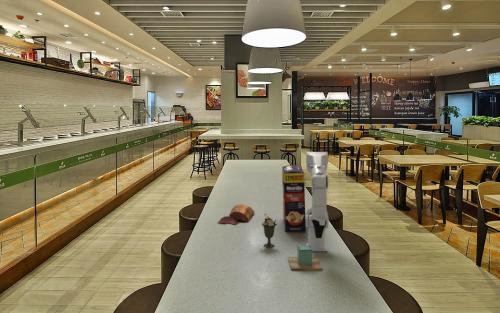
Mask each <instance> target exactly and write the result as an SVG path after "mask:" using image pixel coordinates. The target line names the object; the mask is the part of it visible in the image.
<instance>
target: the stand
mask: <svg viewBox="0 0 500 313" xmlns="http://www.w3.org/2000/svg"><path fill="white" fill-rule="evenodd" d="M287 260H288V263H289V267H290V270H291V271H293V272H294V271H324V270H323V269H324V268H323V266H322V264H321V262H320V260H319V258H318V256H312V265H299V264H298V261H297V256H287Z"/></svg>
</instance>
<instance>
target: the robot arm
mask: <svg viewBox="0 0 500 313" xmlns="http://www.w3.org/2000/svg"><path fill="white" fill-rule="evenodd" d="M305 154H306V155H305V166H306V171H307V172H309V173H310V175H311V178H310V179H311V180H310V182H311V183H310V187H311V207H309V208H308V209H306V211H305V217H306V218H305V219H306V229H308V230H307V243H305V246H310V247H311V249H312V252H327V251H328V249H327V247H326V244H325V243H326V231H327V229H328V228H329V222H330V220H329V212H328V211H327V200H328V199H327V195H328V194H327V193H328V192H327V191H328V188H329V176H328V174H327V170H328V165H329V153H328V151H306V153H305Z"/></svg>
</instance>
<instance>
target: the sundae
mask: <svg viewBox="0 0 500 313" xmlns="http://www.w3.org/2000/svg"><path fill="white" fill-rule="evenodd" d="M264 216H265V218H264V221H263V222H262V224H261V226H262V227H263V232H264V236H265V238H266V239H267V243H265V244H263V247H265V248H270V249H271V248H273V247H275V244H273V243H272V242H271V240H272V238H273V237H274V234H275V229H276V228H275V227H276V226H277V225H278V224H277V223H276V222H277V219H275V220H273V218H270V217H269V216H268V215H267V214H266V213H264Z"/></svg>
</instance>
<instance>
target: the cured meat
mask: <svg viewBox="0 0 500 313" xmlns="http://www.w3.org/2000/svg"><path fill="white" fill-rule="evenodd" d="M254 215H255V210H254V209H253V208H252V207H250V206H249V205H246V204H243V203H242V204H236V205H234V206H233V207H232V208H231V211H230V213H229V215H228V216H227V215H226V216H222V218H220V219H219V220H218V223H219V224H228V225H229V224H230V225H239V221H243V222H245V223H249V222H250V221H251V220H252V219H253V217H254Z"/></svg>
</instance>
